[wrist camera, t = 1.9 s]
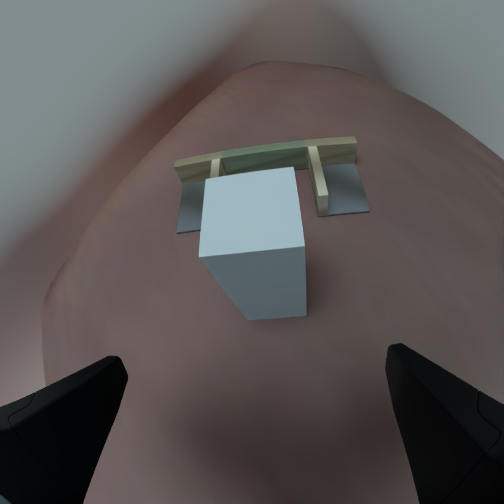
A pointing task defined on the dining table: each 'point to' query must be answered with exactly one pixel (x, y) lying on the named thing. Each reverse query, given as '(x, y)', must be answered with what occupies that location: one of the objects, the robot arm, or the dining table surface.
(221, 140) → the dining table surface
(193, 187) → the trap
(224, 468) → the dining table surface
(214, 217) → the grey block
